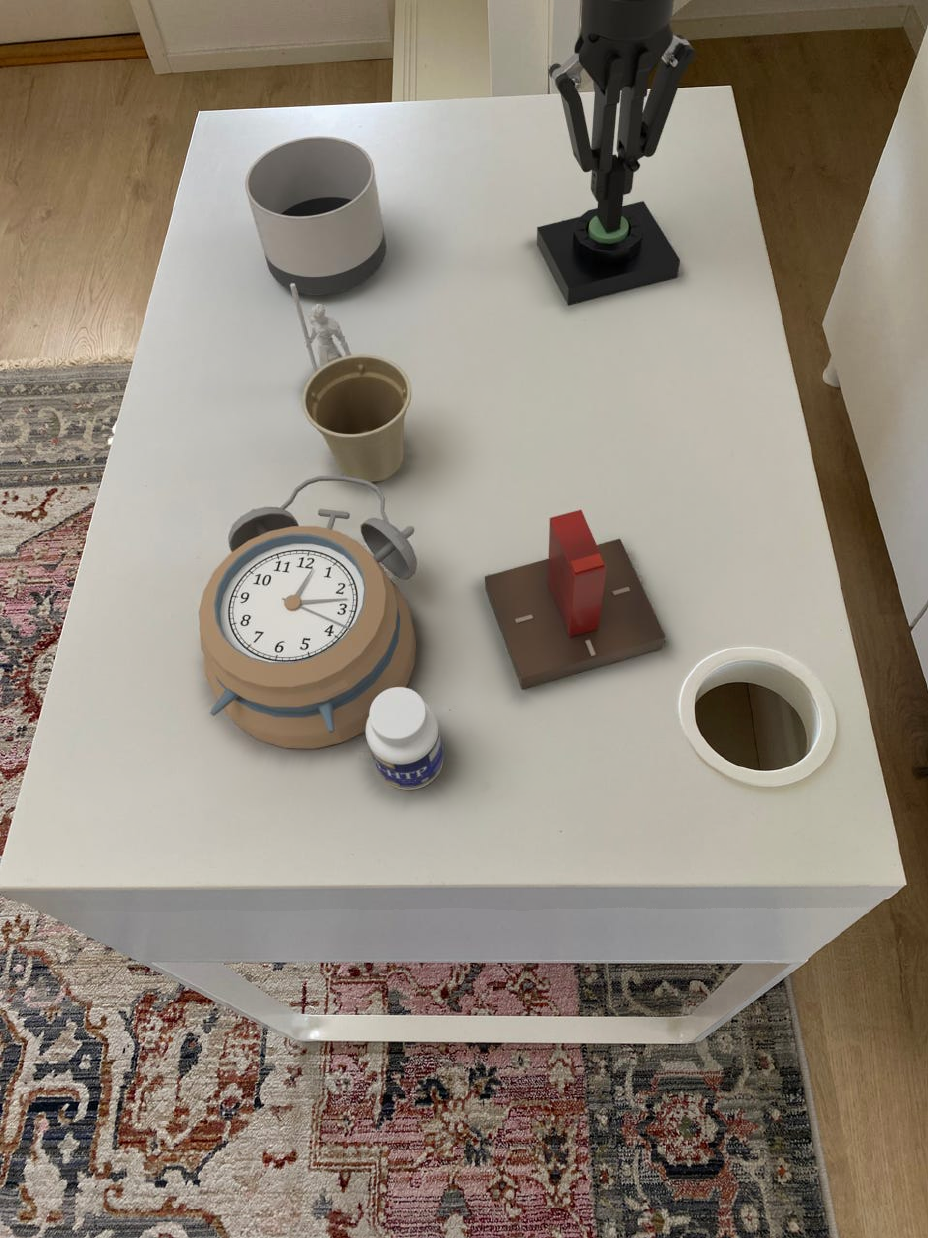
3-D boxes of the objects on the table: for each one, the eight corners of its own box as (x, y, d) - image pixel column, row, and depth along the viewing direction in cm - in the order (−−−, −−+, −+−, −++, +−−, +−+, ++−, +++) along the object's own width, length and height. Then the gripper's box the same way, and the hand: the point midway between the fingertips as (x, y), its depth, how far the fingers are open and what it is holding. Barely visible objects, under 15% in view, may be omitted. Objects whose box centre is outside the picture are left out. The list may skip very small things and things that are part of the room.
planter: (247, 264, 103) (219, 177, 94) (339, 208, 106) (321, 120, 97) (317, 322, 97) (295, 236, 88) (412, 262, 101) (400, 174, 92)
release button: (618, 223, 98) (620, 208, 97) (632, 247, 96) (634, 232, 95) (582, 232, 98) (583, 217, 96) (595, 256, 96) (597, 242, 94)
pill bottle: (370, 787, 72) (351, 743, 64) (383, 724, 74) (366, 674, 67) (439, 795, 71) (428, 751, 63) (449, 731, 74) (440, 681, 66)
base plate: (618, 551, 81) (620, 536, 79) (662, 648, 76) (666, 635, 74) (485, 588, 80) (484, 575, 78) (521, 689, 75) (521, 677, 73)
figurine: (301, 397, 92) (272, 300, 82) (328, 361, 94) (303, 262, 84) (347, 413, 91) (324, 316, 80) (373, 376, 93) (353, 277, 83)
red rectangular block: (547, 582, 78) (549, 515, 70) (576, 574, 78) (581, 506, 70) (569, 637, 75) (573, 575, 67) (599, 629, 75) (607, 565, 67)
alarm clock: (142, 684, 67) (237, 436, 78) (184, 735, 75) (264, 503, 86) (375, 717, 64) (438, 456, 76) (392, 766, 72) (447, 523, 84)
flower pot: (410, 504, 85) (399, 440, 77) (310, 494, 86) (289, 431, 79) (429, 425, 90) (420, 357, 82) (333, 417, 91) (315, 350, 83)
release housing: (641, 218, 102) (645, 185, 99) (677, 277, 97) (682, 244, 94) (536, 244, 101) (537, 212, 98) (567, 305, 96) (569, 273, 93)
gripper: (568, 9, 73) (559, 261, 93) (725, -27, 74) (683, 230, 94) (537, -38, 76) (535, 214, 97) (687, -71, 77) (654, 185, 98)
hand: (608, 222), depth 95 cm, fingers closed
